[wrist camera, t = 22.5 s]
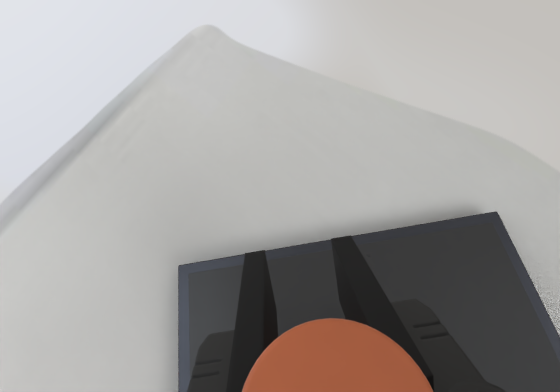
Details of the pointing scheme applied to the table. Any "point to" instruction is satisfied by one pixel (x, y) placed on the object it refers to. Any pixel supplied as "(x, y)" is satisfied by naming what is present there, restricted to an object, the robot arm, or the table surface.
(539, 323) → the plate
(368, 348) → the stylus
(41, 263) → the table surface
